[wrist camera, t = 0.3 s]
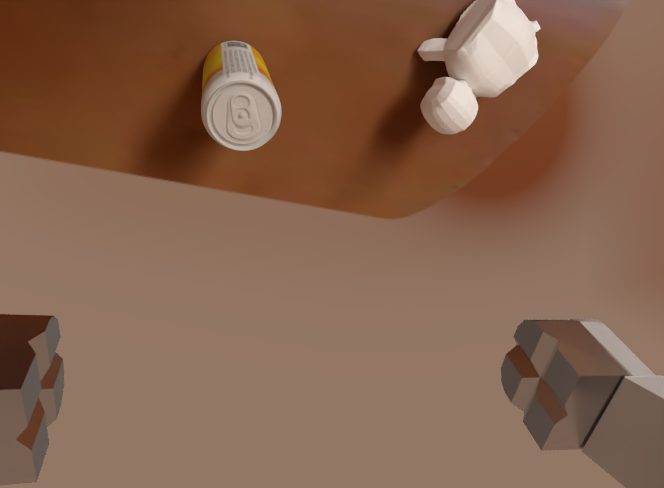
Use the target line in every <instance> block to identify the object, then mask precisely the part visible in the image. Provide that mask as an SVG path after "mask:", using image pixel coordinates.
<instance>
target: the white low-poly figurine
mask: <svg viewBox="0 0 664 488" xmlns="http://www.w3.org/2000/svg"><path fill="white" fill-rule="evenodd" d="M540 29H541V28H540V26H539V24H538V23H537V21H529V20H528V18H527V17H526V16H525V15H524V13H523V11H522V10H521V9H520V8H519V7H517V6H516V3H515V1H514V0H476V1H474V2H473V4H471V5H470V6H469V7H468V8H467V9H466V11H464V12H463V14H462V15H461V16H460V19H459V21H458V22H457V23H456V26H455V28H454V29H453V31H452V32H451V34H450V36H449V37H448V38H447V39H446V38H445V39H443V38H433V39H429V40H427V41H424V42H423V43H422V44H421V45H420V47H419V48H418V50H417V52H418V53H419V55H420V57H421V58H422V59H423V60H424V61H445V64H446V69H447V72H448V75H449V77H442V78H438V79H436V80H435V82H434V83H433V85H432V87H431V88H430V89H429V90H428V91H427V93H426V94H425V96H424V98H423V99H422V101H421V104H420V107H421V111H422V113H423V116H424V118H425V119H426V121H427V122H428V123H429V125H430V126H431V127H432V128H433V129H435V130H436V131H438V132H439V133H442V134H455V133H458V132H460V131H463V130H465V129H466V128H467V127H468V126H469V125H470V124H471V123H472V122H473V120H474V119H475V117H476V115H477V111H478V104H477V101H476V98H477V97H478V96H480V97H496V96H498V95H499V94H500V93H502V92H503V91H504V90H505V89H507V88H508V87H509V86H511V85H512V84H514V83H515V82H516V80H517V79H518V78H519V77H521V76H522V75H523V74H524V73H525V72H527V71H528V70H529V69H530V68H532V67H533V66H534V65H535V64H536V62H537V60H538V51H537V40H536V37H535V32H537V31H539V30H540Z"/></svg>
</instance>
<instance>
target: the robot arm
mask: <svg viewBox="0 0 664 488" xmlns="http://www.w3.org/2000/svg"><path fill="white" fill-rule="evenodd" d="M514 338H515V341H516V344H517V345H516V346H515V347H514V348H513V349H512V350H511V351H510V352H508V353H507V354H506V356H505V359H504V361H503V364H502V367H501V377H502V378H501V381H502V385H503V388H504V391H505V393H506V395H507V396H508V398H509V399H510V402H511V403H512V404H514V405H515V406H517V407H518V408H520V409H521V410H522V411H524V417H523V422H524V424H525V425H526V427H527V429H528V430H529V432H530V433H531V435H532V436H533V438H534V439H535V441H536V443H537V444H538V446H539V447H540V449H541V450H568V449H583V450H582V452H583V453H584V454H586V455H587V456H588V457H589V458H590V459H592V460H593V461H594V462H595V463H596V464H598V465H599V466H600V467H601V468H603V469H604V470H605V471H606V472H607V473H609V474H610V475H611V476H612V477H614V478H615V479H616V480H617V481H618V482H620V483H621V484H622V485H623V486H625V487H626V488H664V376H655V375H654V374H653V373H652V372H651V371H650V370H649V369H648V368H647V367H646V366H645V365H644V364H643V363H642V362H641V361H640V360H639V359H638V358H637V357H636V356H635V355H634V354H633V353H632V352H631V351H630V350H629V349H628V348H627V347H626V346H625V345H624V344H623V343H622V342H621V341H620V340H619V339H618V338H617V337H616V336H615V335H614V334H613V333H612V332H611V331H610V330H609V329H608V328H607V327H606V326H605V325H604V324H603V323H602V322H600V321H598V320H595V319H570V320H524V321H523V322H522V323H521V324H520V325H519V326H518V327H517V330H516V332H515V334H514ZM59 339H60V331H59V324H58V320H57V318H56V317H55V316H43V315H7V314H6V315H5V314H0V485H8V484H19V483H30V482H37V479H38V476H39V473H40V470H41V467H42V464H43V460H44V457H45V454H46V451H47V448H48V445H49V439H48V432H47V427H48V426H49V425H50V424H51V423H52V422H54V421H55V420H56V419H57V416H58V413H59V409H60V406H61V401H62V395H63V388H64V364H63V359H62V358H61V357H60V356H59V355H58V354H57V353H56V352H55V351H56V348H57V345H58V342H59Z"/></svg>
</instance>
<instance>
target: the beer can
mask: <svg viewBox="0 0 664 488" xmlns="http://www.w3.org/2000/svg"><path fill="white" fill-rule="evenodd" d="M281 113H282V112H281V104H280V100H279V98H278V95H277V93H276V90H275V88H274V85H273V83H272V80H271V78H270V75H269V73H268V70H267V68H266V65H265V63H264V60H263V58H262V57H261V55H260V54H259V53H258V52H257V50H255V49H254V48H253V47H252V46H250V45H248V44H246V43H244V42H240V41H227V42H223V43H221V44H219V45H217V46H216V47H214V48H213V49H212V50H211V51H210V52H209V54H208V55H207V57H206V59H205V62H204V67H203V82H202V99H201V116H202V121H203V124H204V126H205V128H206V130H207V132H208V133H209V135H210V136H211V137H212V138H213V139H214V140H215V141H216V142H218V143H219V144H221V145H222V146H224V147H227V148H229V149H232V150H238V151H248V150H253V149H256V148H258V147H260V146H262V145H264V144H265V143H267V142H268V141H269V140H270V139H271V138H272V137H273V136H274V134H275V133H276V131H277V130H278V127H279V125H280V121H281Z"/></svg>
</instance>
